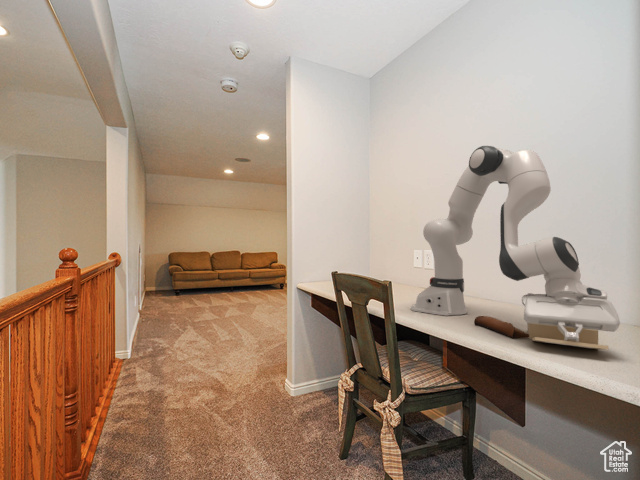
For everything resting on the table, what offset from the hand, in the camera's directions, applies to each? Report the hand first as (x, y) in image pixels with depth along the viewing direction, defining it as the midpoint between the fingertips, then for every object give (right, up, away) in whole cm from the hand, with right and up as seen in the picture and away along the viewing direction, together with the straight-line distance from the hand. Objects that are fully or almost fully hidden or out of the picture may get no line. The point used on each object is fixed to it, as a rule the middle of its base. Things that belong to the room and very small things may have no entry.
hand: (571, 340), depth 82 cm
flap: (+6, -4, +10) cm, 12 cm away
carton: (+8, -5, +15) cm, 17 cm away
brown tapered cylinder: (-4, -5, +24) cm, 25 cm away
